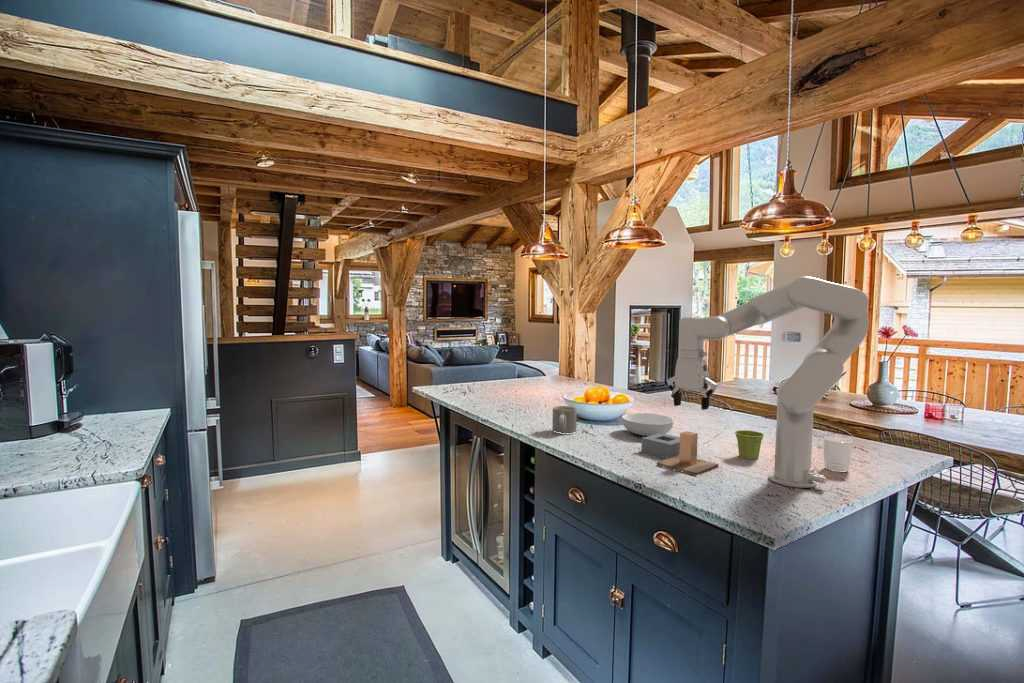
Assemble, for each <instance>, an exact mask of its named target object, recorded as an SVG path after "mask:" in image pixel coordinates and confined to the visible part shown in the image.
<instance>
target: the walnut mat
mask: <svg viewBox="0 0 1024 683" xmlns="http://www.w3.org/2000/svg"><path fill="white" fill-rule="evenodd" d="M658 465H659V466H658ZM656 466H658V467H662V466H664V467H663V468H665V467H667V468H666V469H669V468H671V469H670V470H673V469H675V470H674V471H676V470H679V471H678V472H680V471H683V472H682V473H684V472H686V473H685V474H687V473H690V474H689V475H691V474H694V475H693V476H695V475H698V474H700V475H702V474H701V473H703V474H705V473H707V471H708V472H711V471H712V469H713V470H715V469H718V468H719V463H715V462H711V461H707V460H702V459H699V458H697V464H694V465H691V466H689V465H685V464H681V463H679V455H678V456H675V457H672V458H665V459H663V460H660V461H657V462H656ZM704 472H705V473H704ZM698 476H699V475H698Z"/></svg>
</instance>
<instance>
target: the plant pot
mask: <svg viewBox="0 0 1024 683" xmlns="http://www.w3.org/2000/svg"><path fill="white" fill-rule="evenodd" d="M734 434H735V437H736V439H737V440H736V441H737V449H738V457H740V458H741V459H745V460H749V459H751V460H752V459H755V460H758V459H759V457H760V451H761V445H762V441H763V438H764V437H765V433H762V432H760V431H755V430H747V429H743V430H740V429H739V430H736V431H734Z"/></svg>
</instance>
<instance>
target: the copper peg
mask: <svg viewBox="0 0 1024 683" xmlns="http://www.w3.org/2000/svg"><path fill="white" fill-rule="evenodd" d="M679 437H680V452H679V463H681V464H685V465H689V466H691V465H694V464H697V459H698V439H699V438H698V437H699V436H698V433H697V432H691V431H682V432H679Z"/></svg>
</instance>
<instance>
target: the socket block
mask: <svg viewBox="0 0 1024 683" xmlns="http://www.w3.org/2000/svg"><path fill="white" fill-rule="evenodd" d="M641 452H642V453H645V454H649V453H650V455H653V454H654V456H658V457H661V456H662V457H661V458H665V457H666V458H665V459H669V458H672V457H675V456H678V455H679V452H680V436H677V435H674V434H673V435H671V434H668V433H666V434H663V433H658V434H655V435H651V436H647V437H645V436H642V438H641Z"/></svg>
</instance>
